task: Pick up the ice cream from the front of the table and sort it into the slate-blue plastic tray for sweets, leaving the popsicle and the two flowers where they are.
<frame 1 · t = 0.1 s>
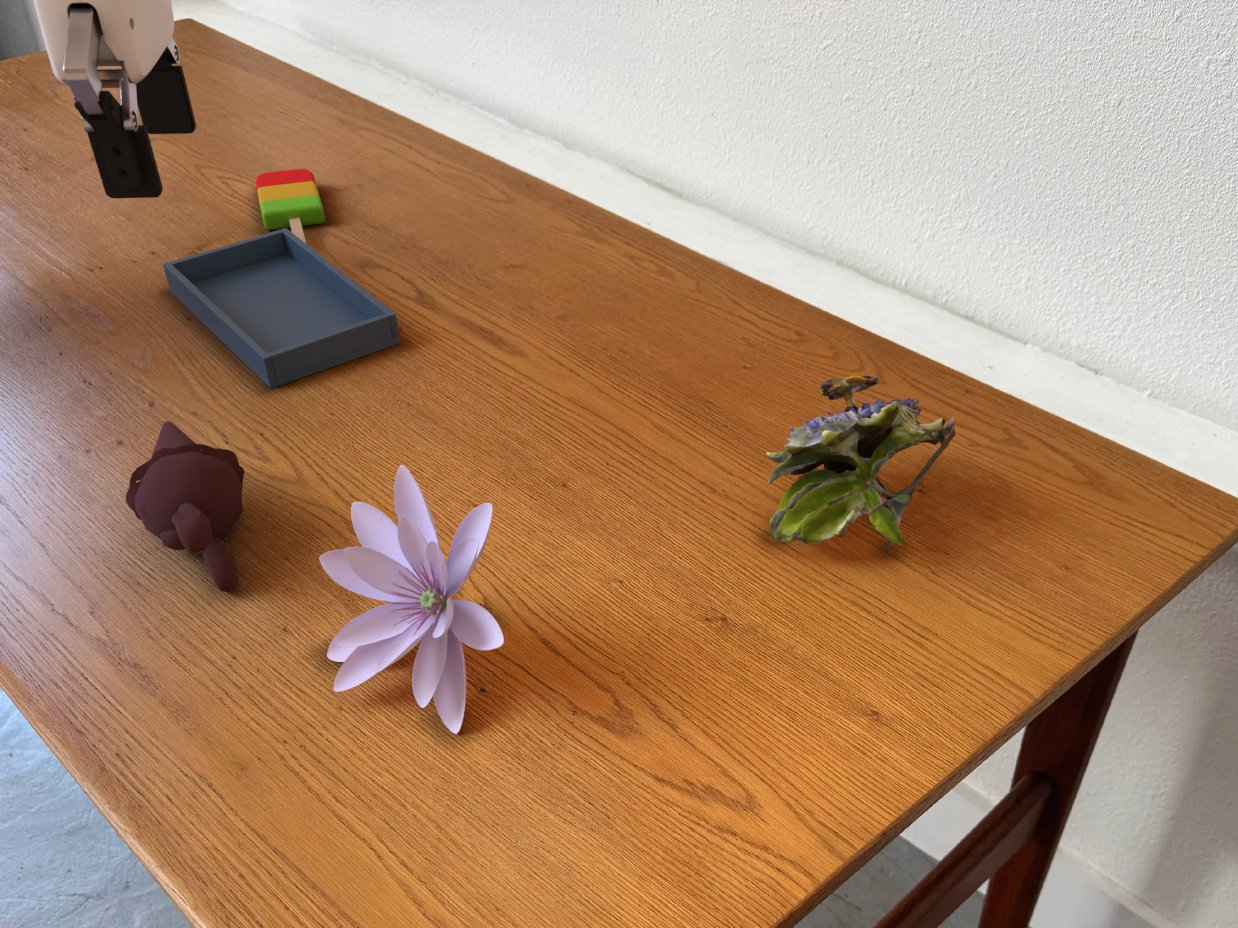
hand: (154, 162, 76), 19 cm above the table, tool pointing down, fingers open, 9 cm apart
water lily: (415, 664, 72), on the table
popsicle: (294, 222, 114), on the table
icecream: (200, 536, 80), on the table
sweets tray: (282, 317, 101), on the table
passion flower: (853, 521, 82), on the table
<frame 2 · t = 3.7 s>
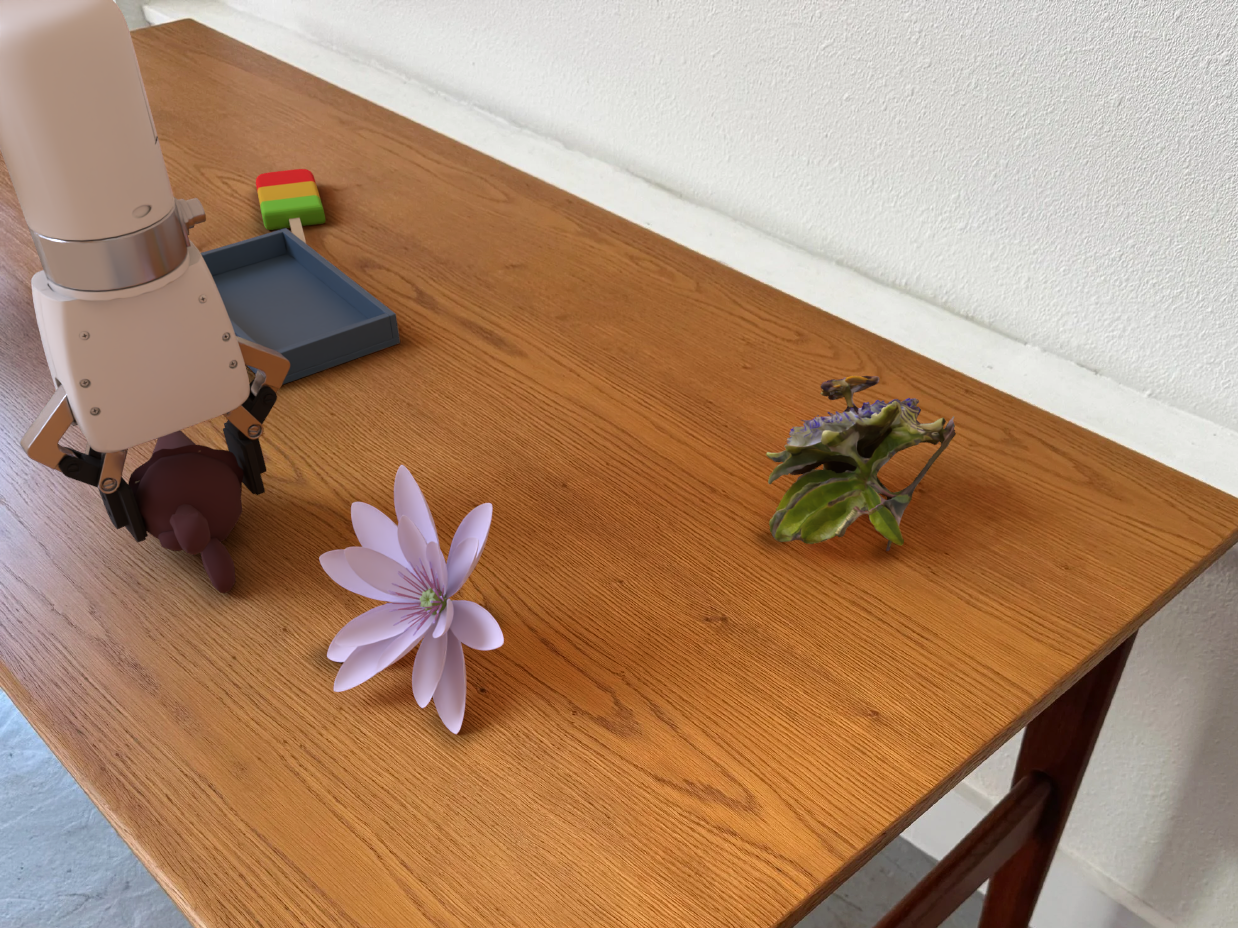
hand: (193, 505, 79), 2 cm above the table, tool pointing down, fingers closed on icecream, 7 cm apart
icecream: (200, 536, 80), on the table, touching gripper
everything else where it was.
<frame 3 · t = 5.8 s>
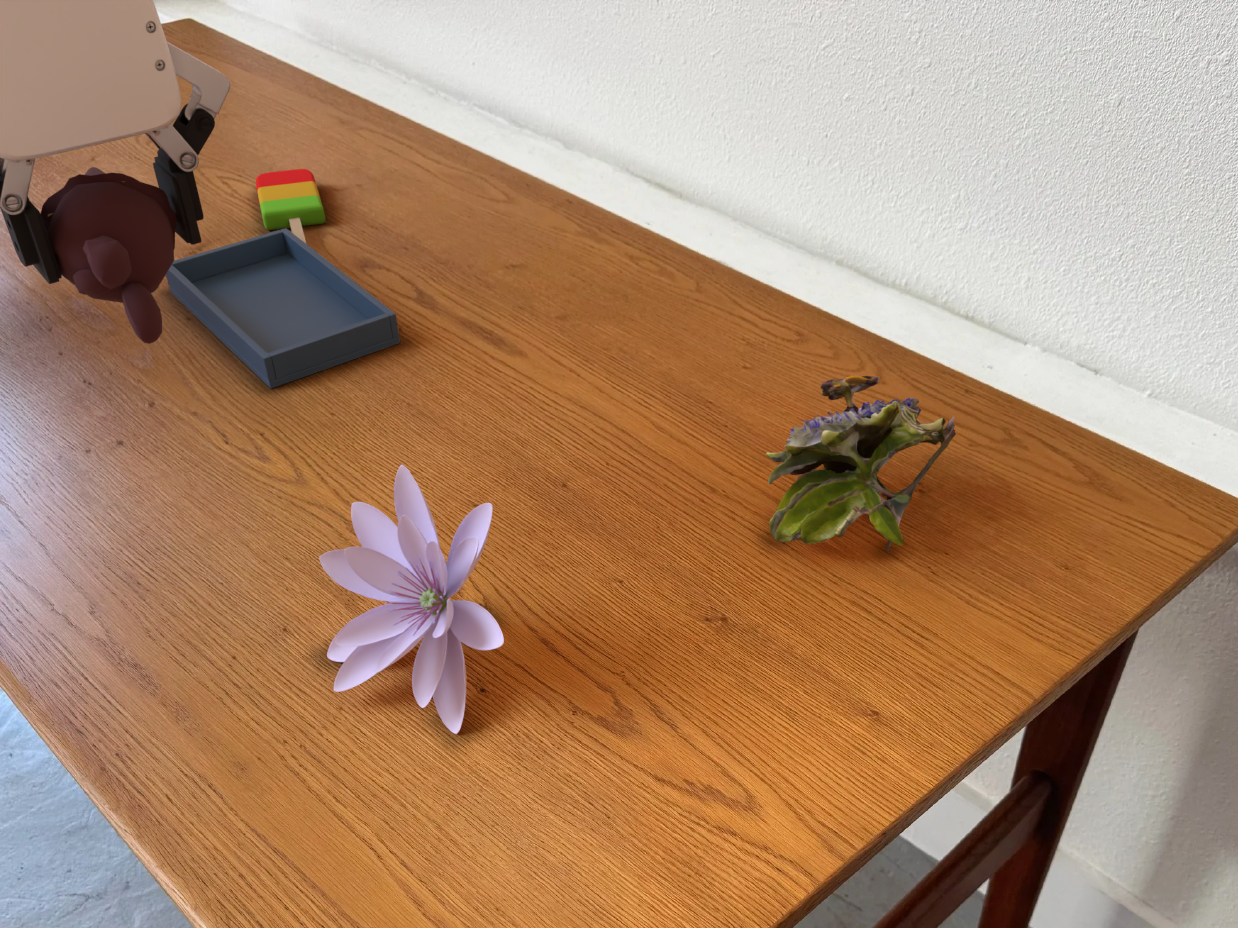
hand: (117, 251, 68), 19 cm above the table, tool pointing down, fingers closed on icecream, 7 cm apart
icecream: (126, 294, 70), point 16 cm above the table, touching gripper
everything else where it was.
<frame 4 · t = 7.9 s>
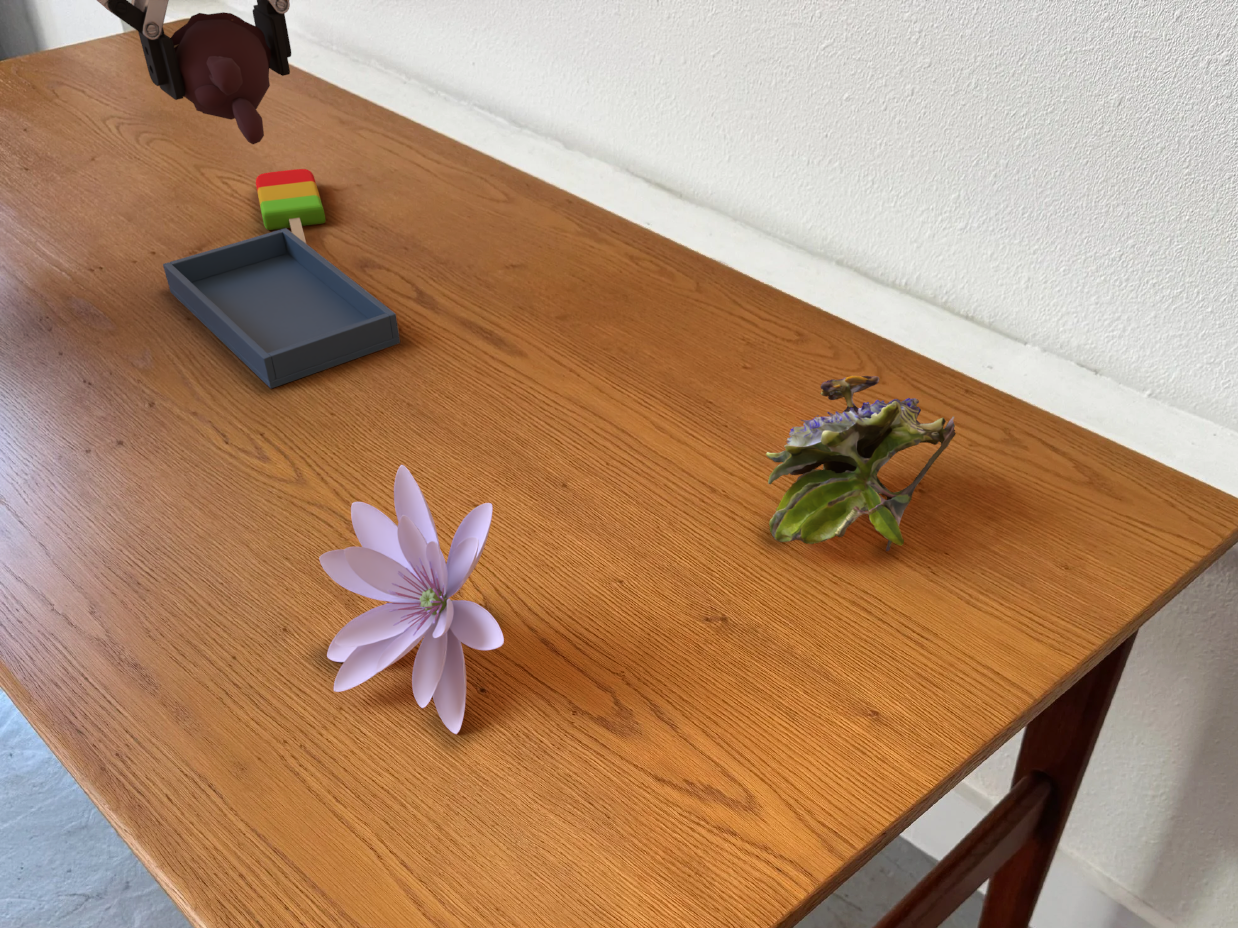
hand: (225, 79, 87), 19 cm above the table, tool pointing down, fingers closed on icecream, 7 cm apart
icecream: (230, 116, 89), point 17 cm above the table, touching gripper
everything else where it was.
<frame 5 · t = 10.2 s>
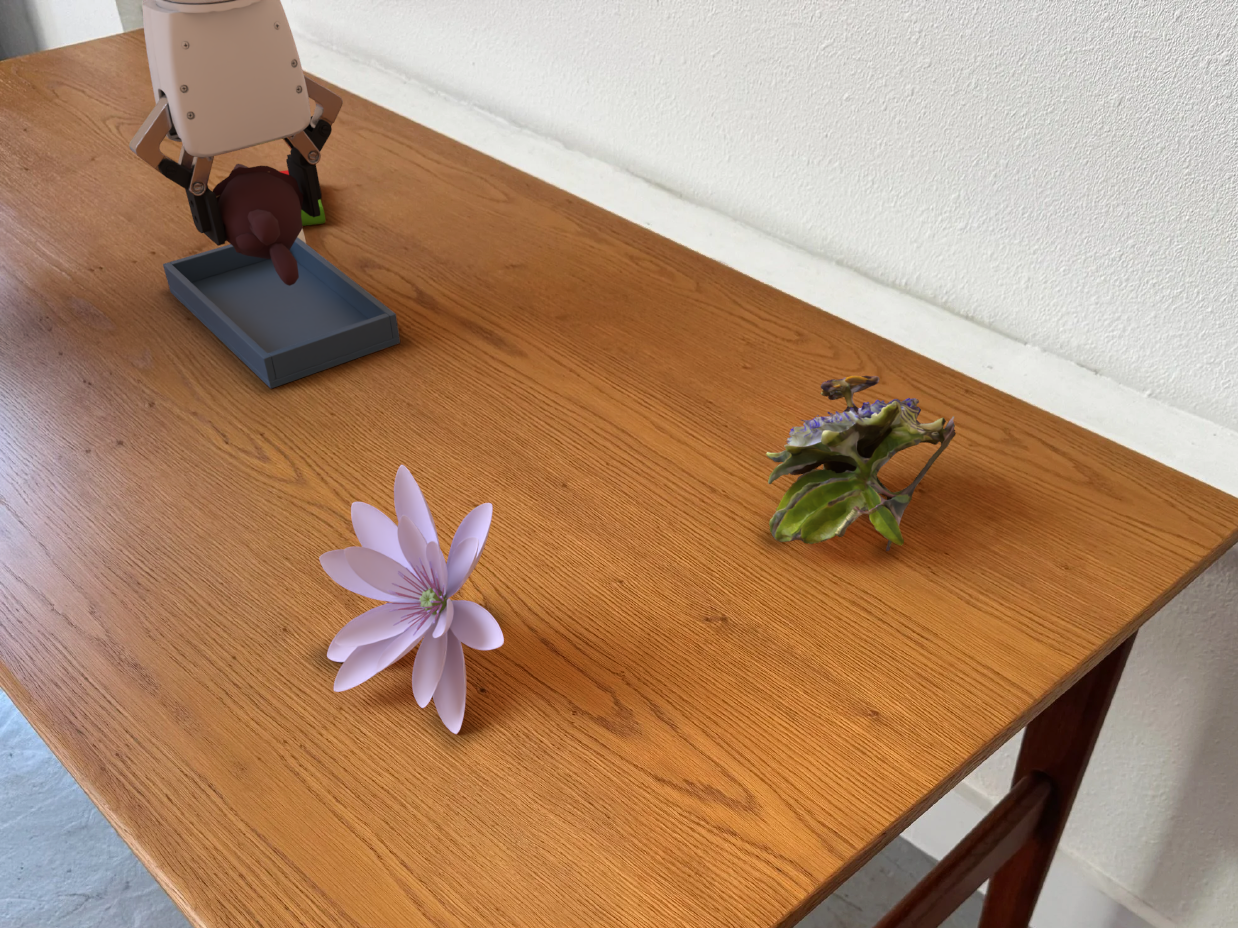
hand: (262, 222, 95), 8 cm above the table, tool pointing down, fingers closed on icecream, 7 cm apart
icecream: (266, 253, 97), point 6 cm above the table, touching gripper
everything else where it was.
when the fingers open (3 cm above the table, at t = 12.1 s): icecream stays where it is, resting on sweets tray.
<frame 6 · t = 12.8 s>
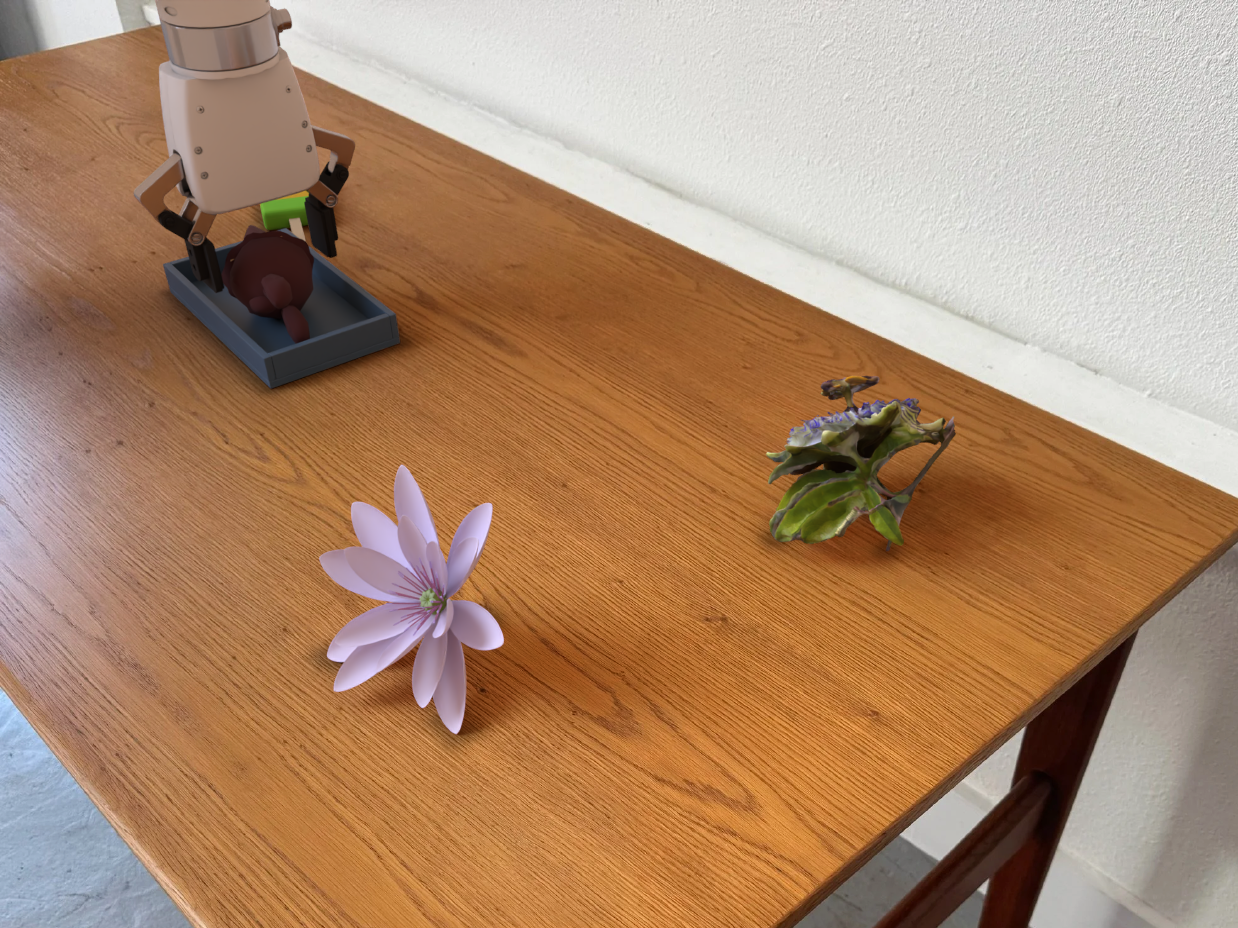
hand: (270, 268, 98), 4 cm above the table, tool pointing down, fingers open, 9 cm apart
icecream: (278, 313, 101), resting on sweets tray
everything else where it was.
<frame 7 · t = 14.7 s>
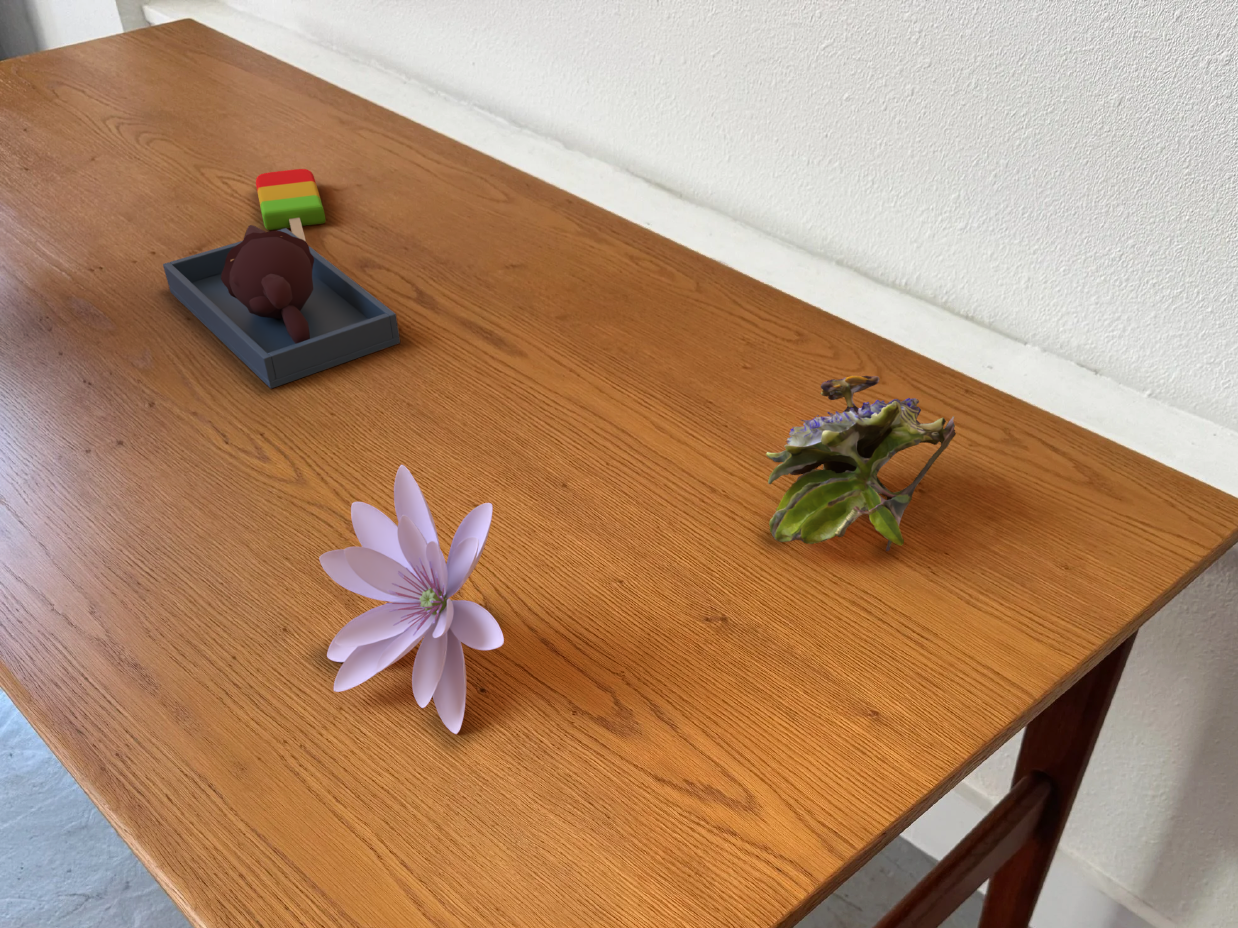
nothing on the table moved.
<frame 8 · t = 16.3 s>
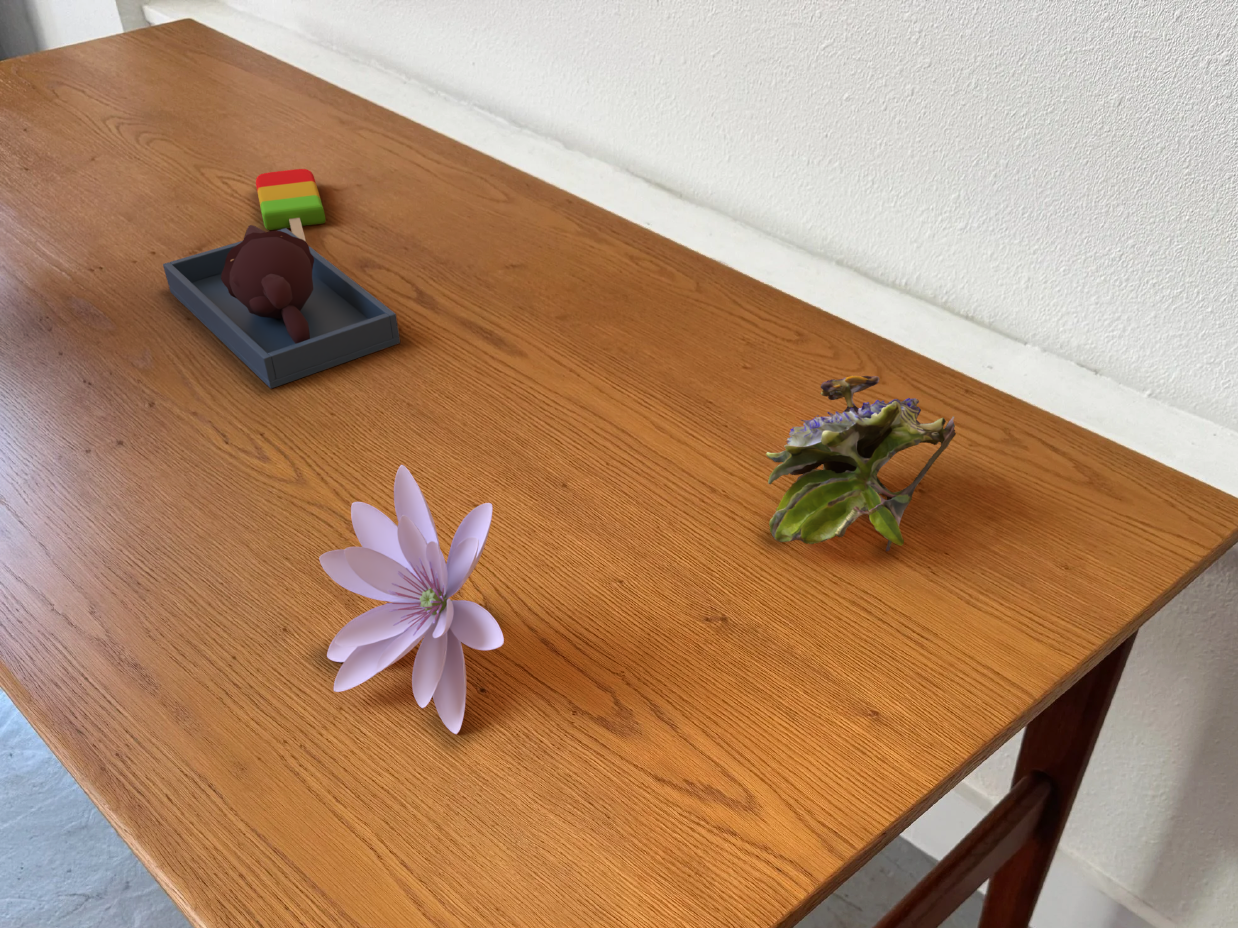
nothing on the table moved.
at the end: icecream inside the target area in the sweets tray (0.2 cm from its centre), point 0.4 cm above the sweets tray's base; the gripper is holding nothing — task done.
